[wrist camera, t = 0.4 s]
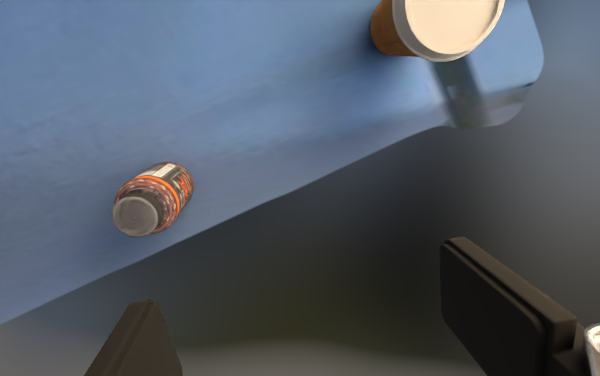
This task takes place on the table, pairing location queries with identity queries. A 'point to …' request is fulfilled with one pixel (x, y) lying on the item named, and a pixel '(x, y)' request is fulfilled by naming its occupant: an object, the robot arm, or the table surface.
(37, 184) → the table surface
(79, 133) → the table surface
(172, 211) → the supplement bottle
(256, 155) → the table surface
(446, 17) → the disposable coffee cup
